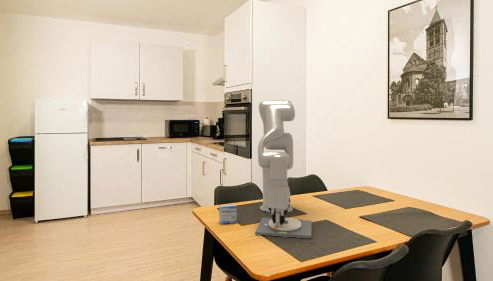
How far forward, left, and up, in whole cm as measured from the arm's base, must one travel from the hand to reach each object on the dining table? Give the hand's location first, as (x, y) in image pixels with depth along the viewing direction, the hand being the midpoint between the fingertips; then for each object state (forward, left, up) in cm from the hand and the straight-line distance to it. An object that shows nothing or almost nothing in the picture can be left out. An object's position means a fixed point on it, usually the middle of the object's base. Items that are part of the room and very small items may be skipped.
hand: (278, 222), depth 143 cm
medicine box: (-9, -26, -5) cm, 28 cm away
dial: (-4, +2, -3) cm, 6 cm away
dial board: (-5, +2, -5) cm, 7 cm away
